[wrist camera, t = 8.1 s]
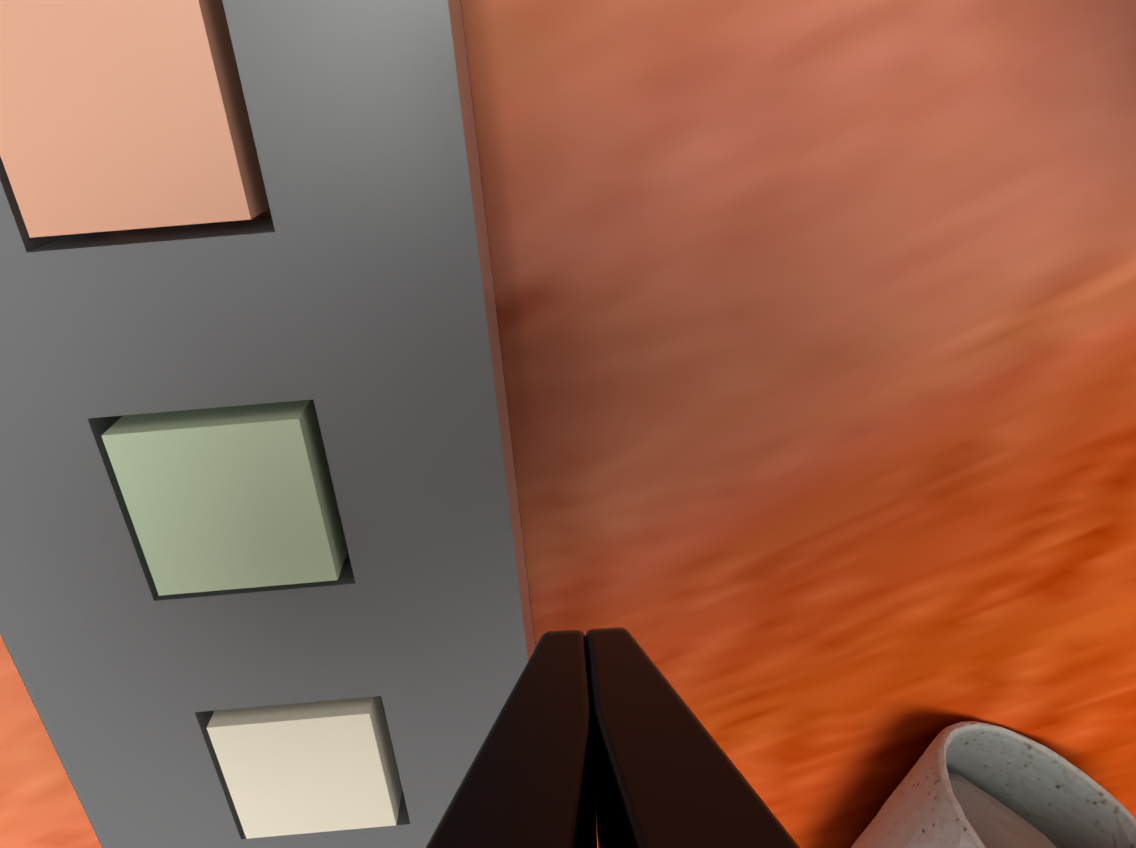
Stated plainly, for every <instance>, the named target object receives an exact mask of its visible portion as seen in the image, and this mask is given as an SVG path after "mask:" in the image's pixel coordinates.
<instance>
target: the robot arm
mask: <svg viewBox="0 0 1136 848" xmlns="http://www.w3.org/2000/svg"><path fill="white" fill-rule="evenodd" d="M596 825H597V833H596ZM597 837H598V847H599V848H800V847H799V846H798V845H797V843H796V842H795V841H794V840H793V838H792V837H791V836H790V835H789V833H788V832H787V831H786V830H785V828H784V827H783V826H782V824H781V823H780V822H779V821H778V819H777V818H776V817H775V816H774V814H773V813H772V812H771V811H770V809H769V808H768V807H767V806H766V804H765V803H764V802H763V801H762V799H761V798H760V797H759V796H758V794H757V793H756V792H755V790H754V789H753V788H752V787H751V785H750V784H749V783H748V782H747V780H746V779H745V778H744V777H743V775H742V774H741V773H740V772H739V770H738V769H737V768H736V767H735V765H734V764H733V763H732V762H731V760H730V759H729V758H728V756H727V755H726V754H725V753H724V751H723V750H722V749H721V748H720V746H719V745H718V744H717V743H716V741H715V740H714V739H713V738H712V736H711V735H710V734H709V733H708V731H707V730H706V729H705V727H704V726H703V725H702V724H701V722H700V721H699V720H698V719H697V717H696V716H695V715H694V714H693V712H692V711H691V710H690V709H689V707H688V706H687V705H686V704H685V702H684V701H683V700H682V699H681V697H680V696H679V695H678V693H677V692H676V691H675V690H674V688H673V687H672V686H671V685H670V683H669V682H668V681H667V680H666V678H665V677H664V676H663V675H662V673H661V672H660V671H659V670H658V668H657V667H656V666H655V664H654V663H653V662H652V661H651V659H650V658H649V657H648V656H647V654H646V653H645V652H644V651H643V649H642V648H641V647H640V646H639V644H638V643H637V642H636V641H635V639H634V638H633V637H632V636H631V634H630V633H629V632H628V631H627V630H626V629H624V628H620V627H618V628H601V629H590V630H589V631H587V633H586V637H585V635H584V633H583V632H582V631H580V630H566V631H550V632H547V633H545V634H544V635H543V636H542V638H541V639H540V641H539V643H538V645H537V646H536V648H535V650H534V652H533V654H532V655H531V657H530V659H529V661H528V663H527V665H526V666H525V668H524V670H523V672H522V674H521V675H520V677H519V679H518V681H517V683H516V684H515V686H514V688H513V690H512V692H511V693H510V695H509V697H508V699H507V701H506V702H505V704H504V706H503V708H502V710H501V711H500V713H499V715H498V717H497V719H496V721H495V722H494V724H493V726H492V728H491V730H490V731H489V733H488V735H487V737H486V739H485V740H484V742H483V744H482V746H481V748H480V749H479V751H478V753H477V755H476V757H475V758H474V760H473V762H472V764H471V766H470V767H469V769H468V771H467V773H466V775H465V776H464V778H463V780H462V782H461V784H460V786H459V787H458V789H457V791H456V793H455V795H454V796H453V798H452V800H451V802H450V804H449V805H448V807H447V809H446V811H445V813H444V814H443V816H442V818H441V820H440V822H439V823H438V825H437V827H436V829H435V831H434V832H433V834H432V836H431V838H430V840H429V842H428V843H427V845H426V847H425V848H597Z"/></svg>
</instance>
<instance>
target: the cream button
mask: <svg viewBox="0 0 1136 848" xmlns="http://www.w3.org/2000/svg"><path fill="white" fill-rule="evenodd" d="M207 731H208V734H209V736H210V739H211V742H212V745H213V748H214V750H215V753H216V756H217V759H218V761H219V764H220V767H221V770H222V772H223V775H224V778H225V781H226V784H227V786H228V789H229V792H230V795H231V797H232V800H233V803H234V806H235V809H236V811H237V814H238V817H239V820H240V822H241V825H242V828H243V831H244V833H245V836H246V839H249V838H261V837H272V836H283V835H294V834H305V833H317V832H328V831H339V830H350V829H362V828H373V827H384V826H395V825H396V824H397V818H398V813H399V807H400V801H401V795H402V785H401V780H400V776H399V771H398V767H397V763H396V758H395V754H394V750H393V745H392V741H391V736H390V732H389V728H388V723H387V719H386V715H385V710H384V706H383V701H382V697H381V696H375V697H364V698H352V699H341V700H329V701H318V702H307V703H295V704H284V705H272V706H261V707H250V708H238V709H227V710H215V711H214V713H213V715H212V717H211V719H210V721H209V724H208V726H207Z"/></svg>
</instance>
